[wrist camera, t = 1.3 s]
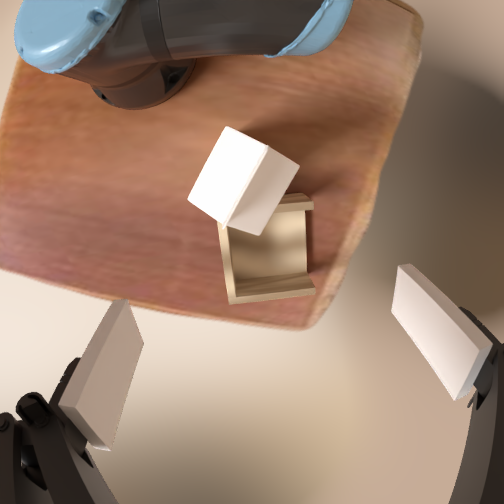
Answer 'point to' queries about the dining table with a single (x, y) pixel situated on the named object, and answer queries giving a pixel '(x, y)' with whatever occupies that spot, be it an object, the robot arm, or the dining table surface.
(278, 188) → the milk
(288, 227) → the u rest
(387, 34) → the dining table surface
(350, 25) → the dining table surface
